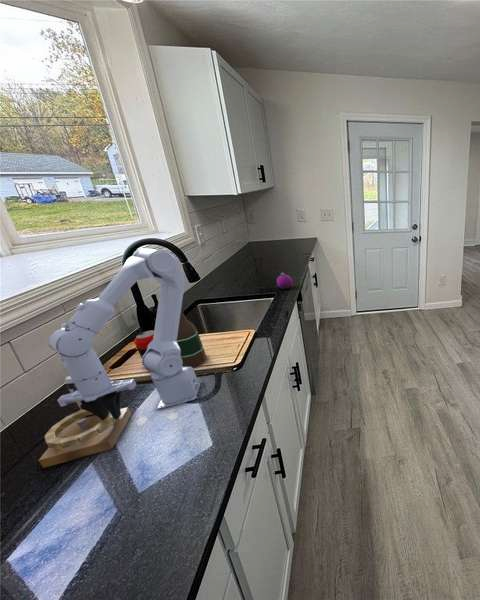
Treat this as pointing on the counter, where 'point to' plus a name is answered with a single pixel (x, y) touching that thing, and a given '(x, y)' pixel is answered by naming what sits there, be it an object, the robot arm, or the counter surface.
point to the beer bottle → (189, 343)
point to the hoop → (77, 439)
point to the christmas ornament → (284, 281)
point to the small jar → (72, 387)
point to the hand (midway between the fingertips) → (112, 418)
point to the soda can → (143, 341)
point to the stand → (90, 446)
